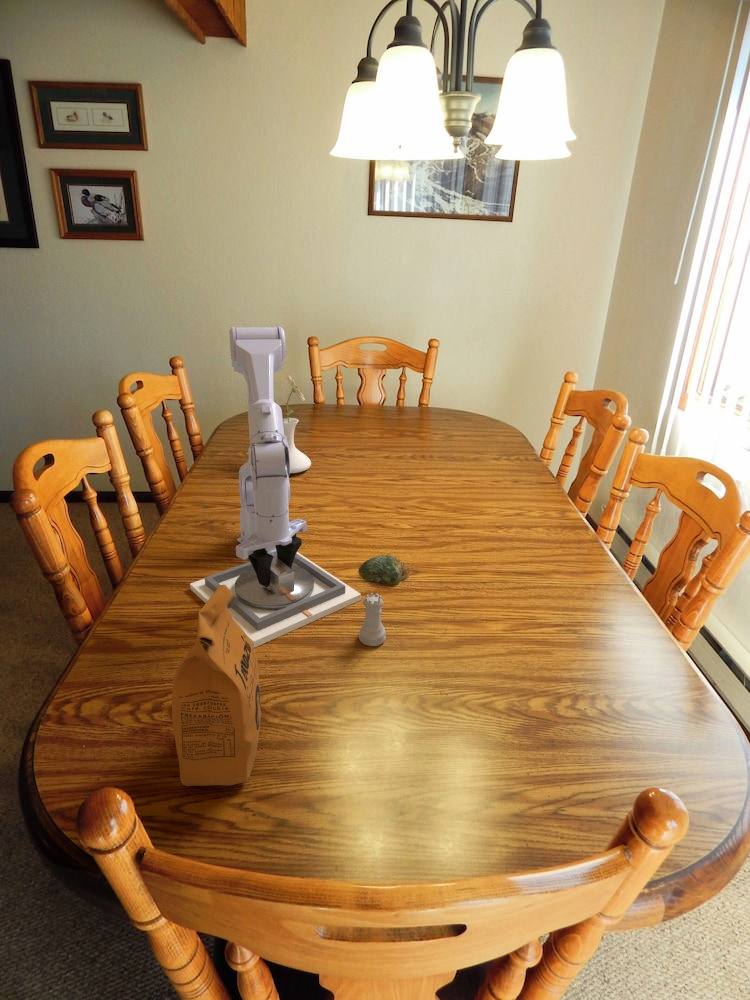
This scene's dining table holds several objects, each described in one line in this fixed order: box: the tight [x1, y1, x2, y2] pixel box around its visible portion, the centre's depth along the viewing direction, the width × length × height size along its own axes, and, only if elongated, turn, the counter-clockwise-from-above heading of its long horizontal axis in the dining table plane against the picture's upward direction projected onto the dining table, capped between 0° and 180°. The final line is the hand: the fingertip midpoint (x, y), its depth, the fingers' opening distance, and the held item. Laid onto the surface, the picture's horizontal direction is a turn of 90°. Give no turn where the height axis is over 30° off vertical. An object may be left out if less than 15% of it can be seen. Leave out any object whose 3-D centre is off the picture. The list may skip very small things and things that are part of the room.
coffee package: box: [171, 585, 262, 787], centre depth 74 cm, size 10×12×22 cm
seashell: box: [358, 554, 412, 586], centre depth 120 cm, size 10×4×10 cm
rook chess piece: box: [358, 592, 387, 647], centre depth 100 cm, size 4×4×8 cm
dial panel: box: [189, 551, 362, 649], centre depth 112 cm, size 22×22×3 cm
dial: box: [235, 551, 314, 609], centre depth 111 cm, size 14×14×5 cm
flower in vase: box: [282, 375, 312, 474], centre depth 165 cm, size 13×11×25 cm
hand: (274, 579), depth 111 cm, fingers open, 4 cm apart
